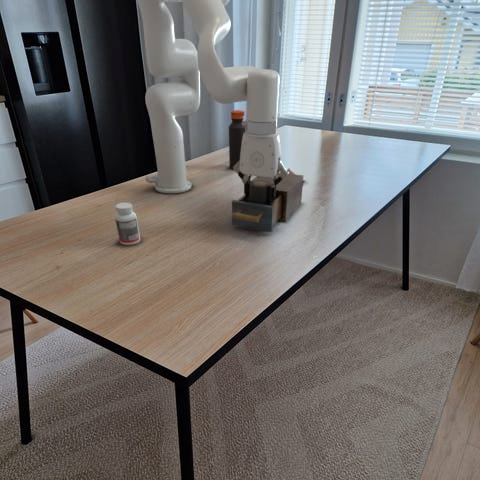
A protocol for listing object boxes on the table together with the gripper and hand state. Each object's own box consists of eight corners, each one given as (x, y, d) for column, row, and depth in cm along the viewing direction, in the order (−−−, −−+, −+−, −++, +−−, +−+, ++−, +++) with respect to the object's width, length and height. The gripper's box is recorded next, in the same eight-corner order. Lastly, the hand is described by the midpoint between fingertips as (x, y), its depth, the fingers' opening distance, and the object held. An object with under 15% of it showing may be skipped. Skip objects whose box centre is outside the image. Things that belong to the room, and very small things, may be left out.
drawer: (265, 239, 106) (266, 214, 102) (224, 232, 110) (224, 207, 106) (288, 213, 120) (289, 189, 116) (252, 207, 124) (252, 184, 120)
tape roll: (249, 204, 110) (249, 187, 107) (248, 196, 115) (248, 179, 112) (271, 203, 110) (272, 187, 107) (269, 196, 115) (270, 179, 112)
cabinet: (285, 222, 117) (287, 191, 112) (244, 215, 122) (244, 185, 116) (301, 203, 129) (303, 175, 124) (263, 198, 133) (264, 170, 128)
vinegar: (227, 169, 159) (225, 112, 147) (232, 164, 164) (232, 109, 152) (243, 170, 157) (243, 113, 145) (248, 165, 162) (249, 110, 150)
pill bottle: (121, 237, 110) (114, 201, 104) (141, 236, 110) (135, 201, 104) (118, 246, 105) (111, 209, 100) (139, 245, 106) (133, 208, 100)
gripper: (224, 127, 101) (225, 198, 112) (290, 134, 96) (285, 208, 107) (236, 122, 107) (236, 190, 118) (299, 127, 101) (293, 198, 112)
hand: (259, 197), depth 112 cm, fingers closed on tape roll, 6 cm apart
